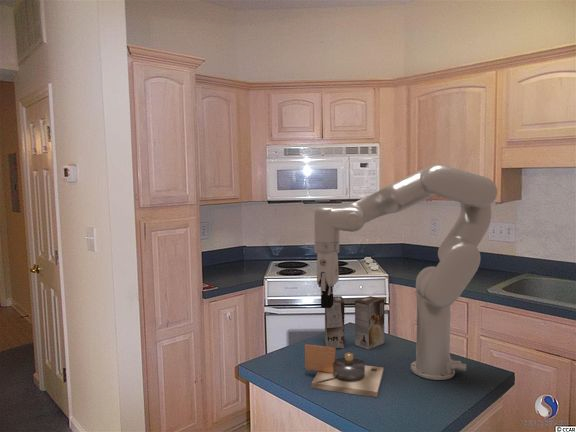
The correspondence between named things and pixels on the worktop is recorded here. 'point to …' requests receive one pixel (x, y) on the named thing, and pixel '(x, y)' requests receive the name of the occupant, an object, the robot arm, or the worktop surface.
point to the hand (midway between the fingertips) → (327, 306)
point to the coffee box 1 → (335, 323)
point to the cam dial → (333, 363)
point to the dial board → (351, 382)
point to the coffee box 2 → (369, 322)
